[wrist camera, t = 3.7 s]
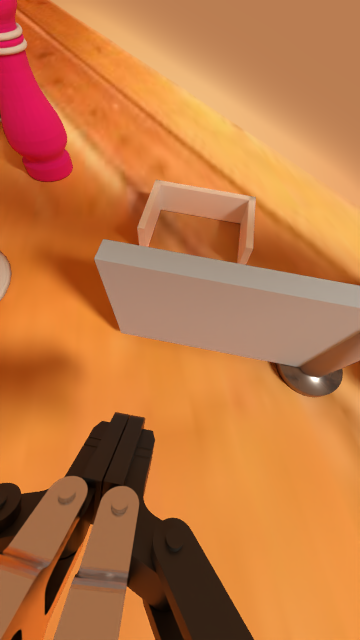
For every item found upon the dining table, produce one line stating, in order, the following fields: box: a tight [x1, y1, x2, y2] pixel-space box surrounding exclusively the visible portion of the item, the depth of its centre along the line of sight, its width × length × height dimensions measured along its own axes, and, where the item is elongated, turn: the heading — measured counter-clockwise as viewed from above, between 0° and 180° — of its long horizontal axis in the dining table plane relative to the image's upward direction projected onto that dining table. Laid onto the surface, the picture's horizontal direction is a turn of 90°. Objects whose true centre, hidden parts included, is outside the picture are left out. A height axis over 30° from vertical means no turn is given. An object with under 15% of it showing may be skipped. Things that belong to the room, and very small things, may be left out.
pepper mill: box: [0, 0, 73, 182], centre depth 26 cm, size 7×7×20 cm
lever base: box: [276, 363, 343, 397], centre depth 23 cm, size 6×6×1 cm
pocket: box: [137, 180, 256, 265], centre depth 29 cm, size 13×9×4 cm
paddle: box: [94, 239, 360, 378], centre depth 17 cm, size 20×3×11 cm, turn 80°
